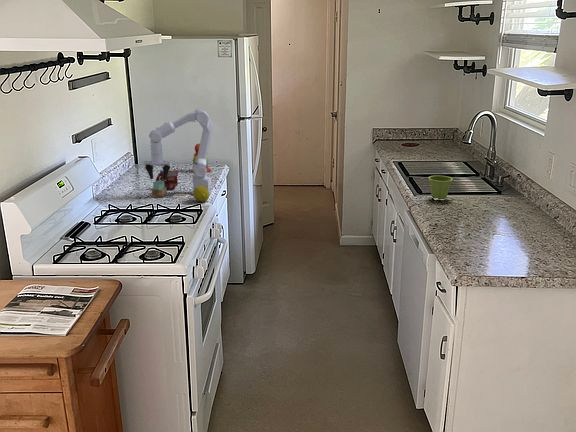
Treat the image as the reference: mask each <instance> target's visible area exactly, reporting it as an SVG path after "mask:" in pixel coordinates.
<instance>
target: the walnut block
mask: <svg viewBox="0 0 576 432" xmlns="http://www.w3.org/2000/svg"><path fill="white" fill-rule="evenodd" d="M167 189H168V187H166V188H165V189H162V190H154V189H151V198H152V199H153V198H155V199H157V198H159V199H163V198H165V197H166V196H168V190H167Z"/></svg>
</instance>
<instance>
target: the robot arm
mask: <svg viewBox="0 0 576 432" xmlns="http://www.w3.org/2000/svg"><path fill="white" fill-rule="evenodd" d="M210 117H211V116H210V115H209V114H208V113H207V112H206V111H205V110H203V109H201V108H197V109H195V110H192V111H190V112H188V113H186V114H184V115H182V117H180V118H177V120H175V121H173V122H170V121H168V122H166V121H165V122H164V123H163V124H162V125H161V126H159V127H155V129H152V130H151V131H150V132H149V135H148V136H149V137H148V138H149V139H150V155H151V156H150V157H151V159H150V160H149V161H148V160H145V161H143V166H145V167H144V168H145V170H146V171H147V174H148V176H149V179H150V180H153V179H154V166H155V167H156V166H158V167H160V166H161V168H162V171H163V172H164V180H165V181H166V179H167V175H168V172H169V171H170V169H171V166H173V165H172V161H165V160H164V158H163V157H164V156H163V145H162V139H164V138H166V137H169V136H170V135H171V134H174V133H175V131H176V129H177V128H180V127H182V126H183V125H185V124H187V123H190V122H192V123H193V122H194V123H195V122H198V123H199V124H200V126H201V127H202V133H201V137H200V146H199V151H198V156H197V159H196V161H195V164H194V165H193V164H192V167H191V169H192V172H193V175H192V184H193V186H192V187H193V191H192V192H191V193H190V195H194V190H195V188H196V187H198V186H204V187H206V188H207V189H208V191H209V195H210V194H211V193H212V192H213V188H212V187H213V186H212V177H210V176H207V173H208V172H207V170H206V159H207V158H208V152H209V148H210V144H211V140H212V136H213V135H212V134H213V130H214V125H213V124H212V121H211V118H210Z"/></svg>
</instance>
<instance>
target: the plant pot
mask: <svg viewBox="0 0 576 432" xmlns="http://www.w3.org/2000/svg"><path fill="white" fill-rule="evenodd" d="M428 180H429V185H430V193H431V195H430V196H432V197H433V198H438V199H445V198H446V199H448V192H449V190H450V185H451V184H452V183H451V182H452V181H453V177H451V176H446V175H431V176H428Z"/></svg>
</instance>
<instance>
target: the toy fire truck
mask: <svg viewBox="0 0 576 432" xmlns="http://www.w3.org/2000/svg"><path fill="white" fill-rule="evenodd" d="M178 176H179V171H178V170H169V172H168V175H167V179H166V180H164V172H163V169H162V170H160V171H159V173H158V174H157V176H156V179H155V181H164V188H167V189H168V190H170V191H174V189H175V188H176V187H178V185H179V181H178Z"/></svg>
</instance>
